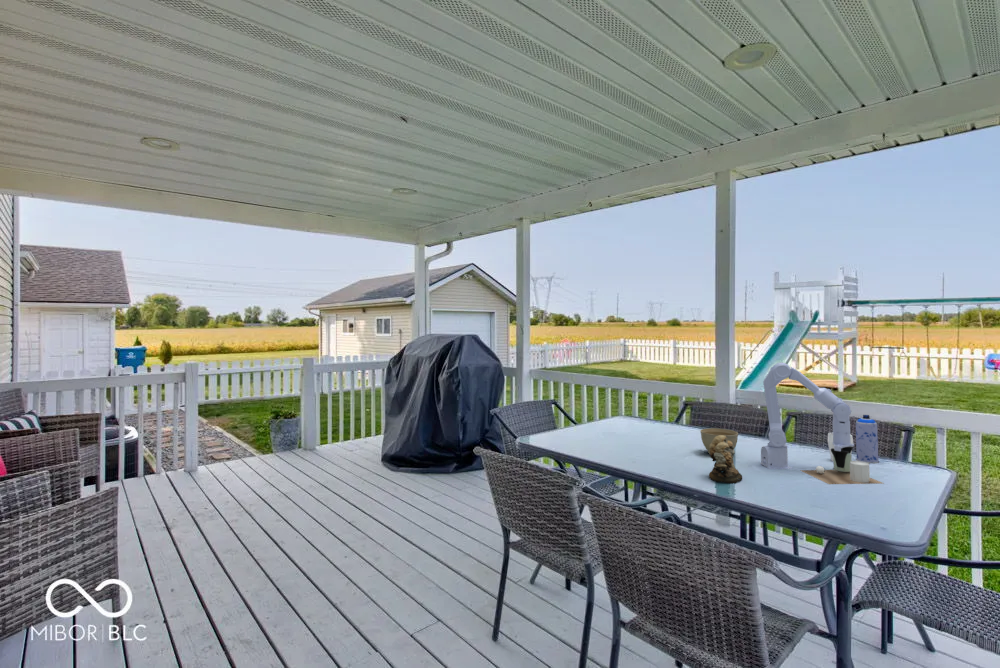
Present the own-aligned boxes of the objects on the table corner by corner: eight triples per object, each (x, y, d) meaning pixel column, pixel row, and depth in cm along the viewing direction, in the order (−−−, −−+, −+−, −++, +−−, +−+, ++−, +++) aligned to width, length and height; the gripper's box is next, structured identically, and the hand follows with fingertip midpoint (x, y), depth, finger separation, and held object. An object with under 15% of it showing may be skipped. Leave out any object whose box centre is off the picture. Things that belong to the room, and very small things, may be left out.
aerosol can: (871, 458, 210) (869, 413, 210) (883, 463, 202) (882, 416, 202) (852, 458, 211) (850, 413, 211) (863, 463, 203) (862, 416, 203)
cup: (858, 463, 203) (857, 435, 203) (844, 466, 200) (843, 437, 200) (837, 458, 212) (836, 431, 212) (823, 460, 208) (822, 433, 208)
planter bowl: (727, 461, 212) (726, 436, 212) (694, 454, 225) (693, 431, 225) (745, 455, 222) (744, 431, 222) (712, 448, 235) (712, 426, 235)
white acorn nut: (857, 482, 177) (857, 464, 177) (847, 478, 182) (846, 460, 182) (873, 482, 176) (872, 464, 176) (862, 477, 182) (861, 460, 182)
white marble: (818, 474, 187) (818, 467, 187) (814, 472, 190) (813, 465, 190) (826, 474, 187) (826, 467, 187) (821, 472, 190) (821, 465, 190)
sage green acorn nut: (840, 471, 187) (839, 455, 187) (830, 467, 193) (830, 451, 193) (854, 471, 187) (854, 454, 187) (844, 467, 193) (844, 451, 193)
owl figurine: (740, 487, 177) (739, 441, 177) (706, 483, 183) (704, 438, 183) (743, 473, 193) (741, 431, 193) (711, 470, 199) (710, 429, 199)
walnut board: (829, 485, 176) (829, 484, 176) (799, 471, 194) (799, 470, 194) (884, 484, 175) (884, 483, 175) (850, 470, 193) (850, 469, 193)
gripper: (849, 436, 182) (850, 471, 182) (857, 430, 192) (858, 463, 192) (827, 433, 188) (828, 468, 187) (836, 428, 197) (837, 460, 197)
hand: (842, 465), depth 190 cm, fingers closed on sage green acorn nut, 5 cm apart
